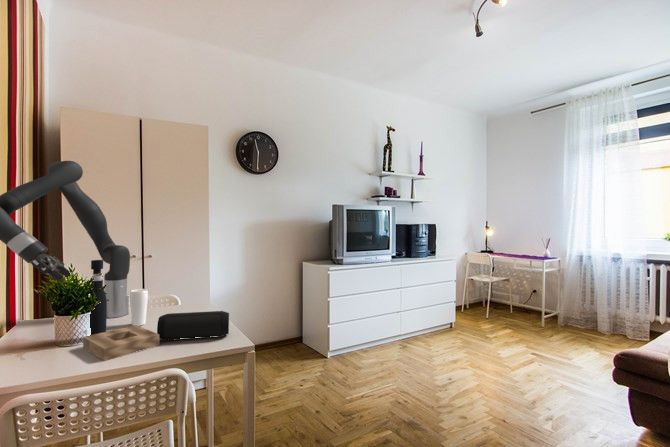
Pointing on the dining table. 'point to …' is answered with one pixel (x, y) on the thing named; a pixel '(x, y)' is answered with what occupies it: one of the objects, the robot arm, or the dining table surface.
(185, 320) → the portable speaker
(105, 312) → the black bottle
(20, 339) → the dining table surface
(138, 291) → the drinking glass
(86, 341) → the walnut jig
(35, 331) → the dining table surface
